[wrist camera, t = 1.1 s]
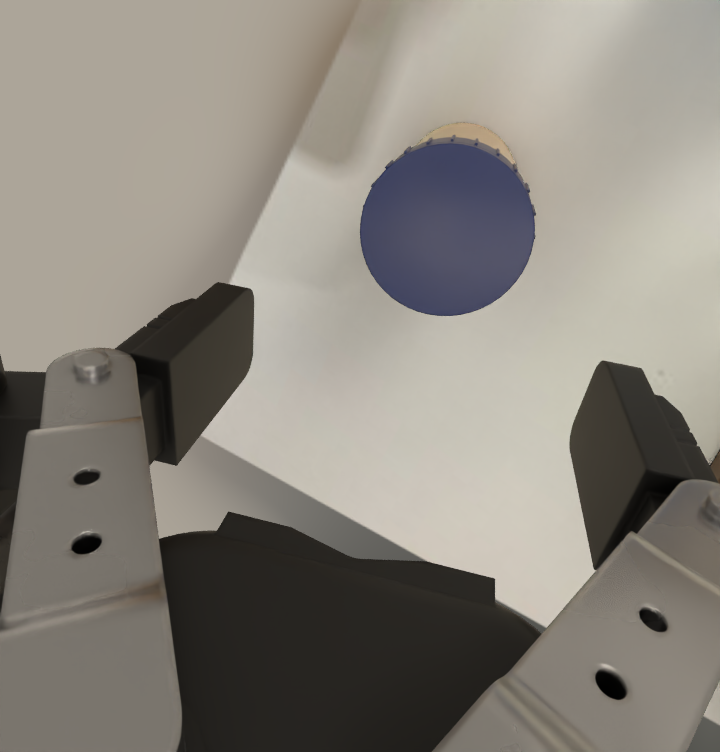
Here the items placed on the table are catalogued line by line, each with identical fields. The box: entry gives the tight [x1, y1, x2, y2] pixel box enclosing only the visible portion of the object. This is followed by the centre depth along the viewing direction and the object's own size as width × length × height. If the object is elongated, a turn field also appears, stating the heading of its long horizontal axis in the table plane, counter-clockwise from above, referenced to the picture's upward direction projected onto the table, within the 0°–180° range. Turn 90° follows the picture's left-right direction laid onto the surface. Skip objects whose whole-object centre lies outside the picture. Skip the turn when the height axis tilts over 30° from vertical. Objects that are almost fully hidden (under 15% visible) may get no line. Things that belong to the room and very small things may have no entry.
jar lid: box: [360, 135, 536, 316], centre depth 21 cm, size 7×7×2 cm
